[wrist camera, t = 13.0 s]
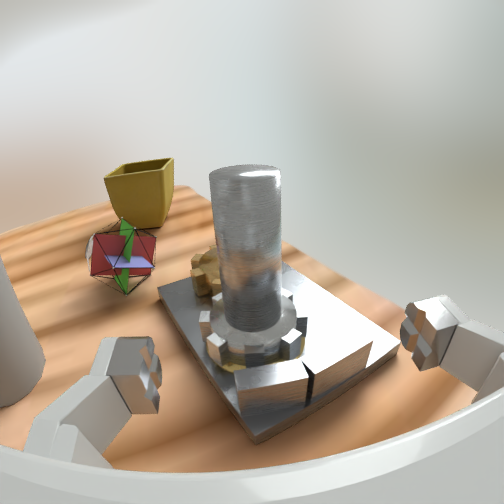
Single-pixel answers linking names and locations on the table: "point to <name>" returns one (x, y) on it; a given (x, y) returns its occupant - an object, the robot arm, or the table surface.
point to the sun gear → (206, 273)
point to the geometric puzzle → (121, 254)
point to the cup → (16, 347)
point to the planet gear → (250, 272)
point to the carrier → (287, 372)
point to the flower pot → (142, 191)
